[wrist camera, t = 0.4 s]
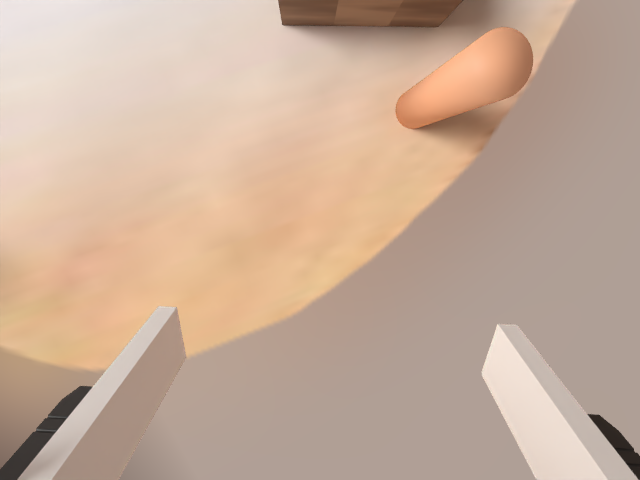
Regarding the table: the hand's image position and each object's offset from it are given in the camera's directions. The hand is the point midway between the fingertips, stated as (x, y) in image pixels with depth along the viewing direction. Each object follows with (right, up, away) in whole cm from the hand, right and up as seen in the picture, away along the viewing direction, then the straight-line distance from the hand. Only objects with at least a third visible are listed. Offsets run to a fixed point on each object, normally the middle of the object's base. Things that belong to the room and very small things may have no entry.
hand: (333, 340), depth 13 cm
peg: (+10, +18, +22) cm, 30 cm away
